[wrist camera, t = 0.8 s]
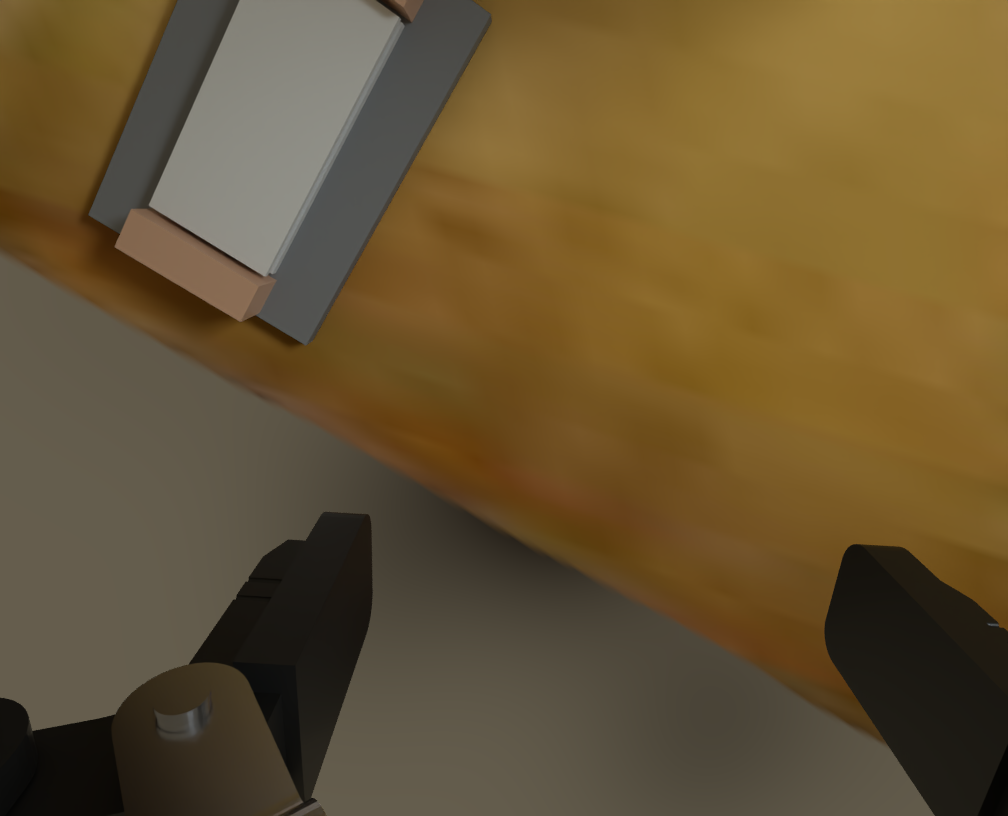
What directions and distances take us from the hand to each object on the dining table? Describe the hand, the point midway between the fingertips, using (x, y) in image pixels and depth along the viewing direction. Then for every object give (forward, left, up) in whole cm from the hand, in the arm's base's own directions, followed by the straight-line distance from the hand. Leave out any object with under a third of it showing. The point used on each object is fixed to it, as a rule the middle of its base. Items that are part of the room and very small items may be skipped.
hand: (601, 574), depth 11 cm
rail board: (-1, -16, -24) cm, 29 cm away
